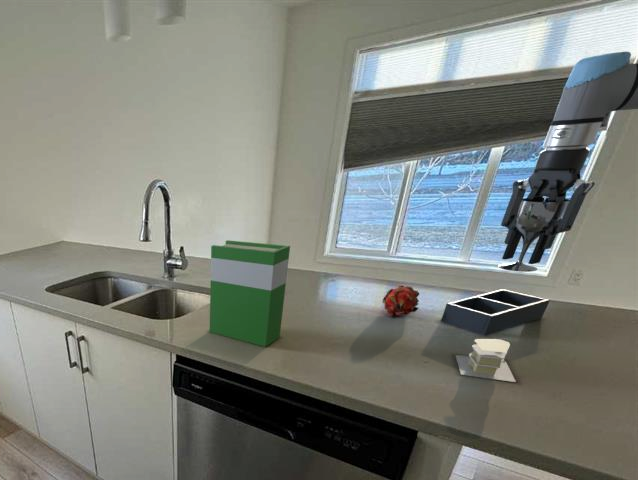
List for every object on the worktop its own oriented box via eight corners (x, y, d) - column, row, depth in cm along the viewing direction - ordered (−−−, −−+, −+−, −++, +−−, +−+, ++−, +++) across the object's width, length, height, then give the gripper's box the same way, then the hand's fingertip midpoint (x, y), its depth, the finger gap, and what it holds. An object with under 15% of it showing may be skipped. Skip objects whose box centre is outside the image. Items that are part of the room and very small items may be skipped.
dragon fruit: (401, 311, 121) (395, 331, 114) (378, 293, 122) (371, 312, 115) (428, 292, 114) (423, 312, 107) (403, 273, 115) (397, 291, 108)
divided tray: (541, 318, 106) (550, 299, 103) (484, 335, 100) (492, 316, 98) (495, 306, 115) (502, 288, 112) (440, 321, 109) (446, 303, 107)
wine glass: (532, 263, 98) (561, 196, 91) (545, 272, 92) (577, 201, 85) (491, 262, 101) (516, 198, 94) (501, 271, 95) (528, 202, 88)
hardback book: (209, 331, 116) (211, 245, 104) (224, 323, 120) (227, 240, 108) (265, 346, 105) (274, 252, 93) (279, 337, 109) (290, 245, 97)
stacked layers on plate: (515, 382, 82) (527, 358, 79) (460, 374, 86) (469, 351, 83) (505, 361, 89) (515, 338, 86) (455, 355, 93) (463, 333, 90)
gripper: (505, 150, 91) (470, 256, 102) (611, 148, 76) (555, 271, 88) (528, 148, 93) (490, 251, 104) (635, 144, 78) (577, 265, 90)
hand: (520, 260), depth 96 cm, fingers closed on wine glass, 5 cm apart
